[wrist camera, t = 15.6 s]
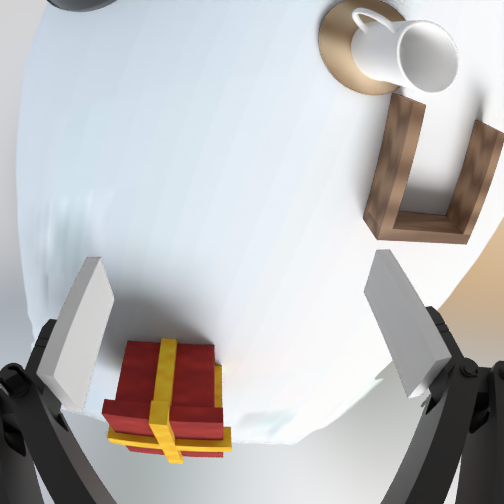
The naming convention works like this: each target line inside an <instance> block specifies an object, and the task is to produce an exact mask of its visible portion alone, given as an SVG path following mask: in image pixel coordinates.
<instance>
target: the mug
mask: <svg viewBox="0 0 504 504" xmlns="http://www.w3.org/2000/svg"><path fill="white" fill-rule="evenodd" d="M358 14H364V15H367V16H369V17H371V18H373V19H375V20H377V21H373V22H368V23H366V24H364V23H363V22H362V20H361V19H360V18H359V16H358ZM352 18H353V20H354V22H355V23H356V24H357V25H358V27H359V28H358V29H357V31H356V32H355V34H354V35H353V38H352V42H351V53H352V57H353V60H354V62H355V64H356V66H357V67H358V68H359V70H360V71H361V72H362V73H363V74H365V75H366V76H367V77H369V78H371V79H374V80H377V81H387V82H390V83H393V84H397V85H400V86H403V87H406V88H409V89H412V90H415V91H418V92H421V93H424V94H428V95H436V94H440V93H443V92H445V91H446V90H448V89H449V88H450V87H451V86H452V85H453V83H454V82H455V80H456V78H457V75H458V71H459V54H458V50H457V47H456V45H455V43H454V41H453V39H452V38H451V36H450V35H449V34H448V33H447V32H446V31H445V30H444V29H443V28H442V27H441V26H439V25H437V24H435V23H433V22H430V21H396V22H391V21H390V20H388V19H387V18H385V17H383V16H382V15H380V14H378V13H376V12H374V11H372V10H369V9H365V8H357V9H355V10H354V11H353V12H352Z"/></svg>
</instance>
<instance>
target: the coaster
mask: <svg viewBox="0 0 504 504" xmlns="http://www.w3.org/2000/svg"><path fill="white" fill-rule="evenodd" d="M357 8H365V9H369V10H372V11H374V12H376V13H378V14H380V15H382V16H383V17H385V18H387V19H388V20H390V21H391V22H396V21H406V20H405V19H404V18H403V16H402V15H401V14H400V13H399V12H398V11H396V10H395V9H394V8H393V7H391V6H390V5H388V4H386V3H384V2H382V1H379V0H346V1H343V2H341V3H339V4H337V5H336V6H335V7H333V8H332V9H331V10H330V11H329V12H328V13H327V15H326V16H325V18H324V20H323V22H322V24H321V27H320V31H319V49H320V53H321V57H322V59H323V62H324V64H325V66H326V67H327V69H328V70H329V72H330V73H331V74H332V75H333V77H334V78H335V79H336V80H338V81H339V82H340V83H341V84H343V85H344V86H346V87H347V88H349V89H351V90H354V91H356V92H359V93H362V94H367V95H382V94H386V93H389V92H392V91H394V90H396V89H397V88H399V87H400V85H397V84H393V83H390V82H387V81H377V80H374V79H371V78H369V77H367V76H366V75H365V74H363V73H362V72H361V71H360V70H359V68H358V67H357V66H356V64H355V62H354V60H353V57H352V53H351V42H352V38H353V35H354V34H355V32H356V31H357V29H358V28H359V27H358V25H357V24H356V23H355V22H354V20H353V18H352V12H353V11H354V10H355V9H357ZM358 16H359V18H360V19H361V20H362V22H363V23H364V24H366V23H368V22H373V21H377V20H375V19H373V18H371V17H369V16H367V15H364V14H358Z"/></svg>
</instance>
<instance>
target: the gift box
mask: <svg viewBox="0 0 504 504" xmlns="http://www.w3.org/2000/svg"><path fill="white" fill-rule="evenodd" d="M102 415H103V416H104V418H105V419H106V420H107V422H108V423H109V424H110V425H109V431H108V437H107V438H108V439H109V440H110V442H111V443H115V444H121V445H126V447H127V448H128V449H129V450H130V451H133V452H141V453H150V454H160V455H166V457H167V459H168V461H169V463H180V464H183V456H189V457H223V452H231V427H223V407H222V365H215V353H214V345H199V344H177V339H162V340H161V343H153V342H138V341H127V345H126V350H125V354H124V359H123V363H122V368H121V373H120V378H119V382H118V387H117V393H116V398H115V400H108V399H104V404H103V409H102Z"/></svg>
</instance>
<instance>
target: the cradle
mask: <svg viewBox="0 0 504 504" xmlns="http://www.w3.org/2000/svg"><path fill="white" fill-rule="evenodd" d="M425 108H426V105H425V104H422V103H420V102H417V101H415V100H412V99H410V98H407V97H405V96H401V95H398V94H394V93H392V96H391V102H390V107H389V112H388V117H387V122H386V127H385V132H384V137H383V141H382V146H381V150H380V155H379V159H378V163H377V167H376V171H375V175H374V179H373V183H372V187H371V191H370V195H369V199H368V203H367V206H366V210H365V214H364V217H363V220H364V221H365V223H366V224H367V226H368V227H369V229H370V230H371V232H372V233H373V235H374V236H375V238H376V239H377V240H389V241H410V242H430V243H449V244H466V245H467V242H468V240H469V238H470V236H471V233H472V231H473V229H474V226H475V224H476V221H477V219H478V216H479V214H480V211H481V209H482V206H483V204H484V201H485V198H486V196H487V193H488V190H489V187H490V185H491V182H492V179H493V176H494V173H495V170H496V167H497V163H498V160H499V157H500V153H501V150H502V147H503V143H504V133H502V132H500V131H499V130H497V129H495V128H493V127H491V126H489V125H487V124H485V123H483V122H480V121H478V120H475V123H474V127H473V131H472V135H471V139H470V143H469V146H468V150H467V153H466V157H465V160H464V164H463V167H462V170H461V173H460V177H459V180H458V183H457V186H456V189H455V192H454V195H453V197H452V200H451V203H450V206H449V209H448V211H447V214H446V216H443V215H434V214H425V213H416V212H406V211H398V210H399V207H400V204H401V201H402V198H403V194H404V191H405V188H406V184H407V181H408V177H409V174H410V170H411V166H412V163H413V159H414V155H415V151H416V147H417V143H418V139H419V135H420V131H421V126H422V122H423V118H424V113H425Z"/></svg>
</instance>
